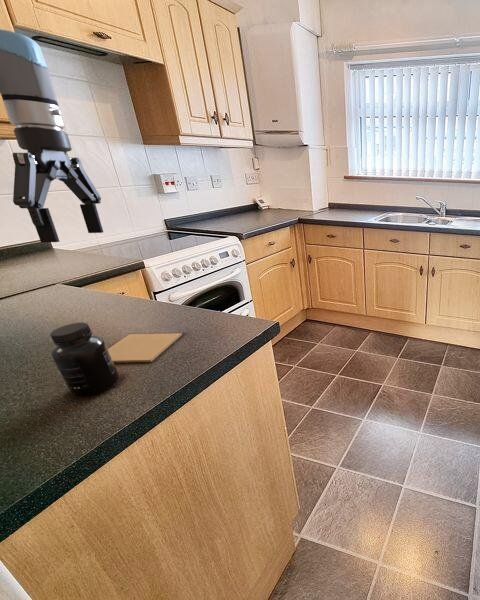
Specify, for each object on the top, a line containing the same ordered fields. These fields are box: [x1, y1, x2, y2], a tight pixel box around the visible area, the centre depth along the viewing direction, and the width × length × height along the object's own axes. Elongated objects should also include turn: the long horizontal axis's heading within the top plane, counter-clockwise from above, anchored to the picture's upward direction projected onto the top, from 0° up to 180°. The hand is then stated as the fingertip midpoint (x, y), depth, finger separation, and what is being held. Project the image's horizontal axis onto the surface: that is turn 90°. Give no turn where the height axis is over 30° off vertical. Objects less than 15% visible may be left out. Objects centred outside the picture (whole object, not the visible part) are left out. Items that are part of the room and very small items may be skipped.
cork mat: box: [107, 332, 183, 364], centre depth 73 cm, size 12×11×1 cm
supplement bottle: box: [49, 321, 120, 398], centre depth 59 cm, size 7×7×12 cm
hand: (75, 237), depth 73 cm, fingers open, 13 cm apart
